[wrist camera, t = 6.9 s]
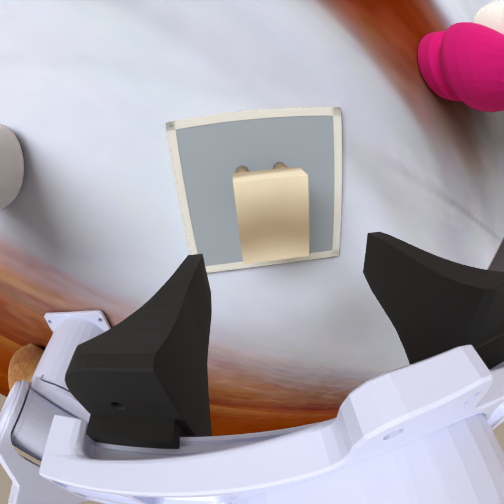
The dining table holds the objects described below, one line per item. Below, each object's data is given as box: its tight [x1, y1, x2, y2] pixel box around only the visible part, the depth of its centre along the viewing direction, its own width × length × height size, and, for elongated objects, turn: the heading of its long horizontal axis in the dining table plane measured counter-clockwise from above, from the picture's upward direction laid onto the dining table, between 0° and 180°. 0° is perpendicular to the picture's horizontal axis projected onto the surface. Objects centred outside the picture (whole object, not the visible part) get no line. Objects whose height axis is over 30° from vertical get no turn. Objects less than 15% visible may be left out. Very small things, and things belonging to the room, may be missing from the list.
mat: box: [166, 107, 342, 273], centre depth 20 cm, size 12×12×1 cm
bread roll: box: [8, 344, 44, 391], centre depth 26 cm, size 10×15×8 cm, turn 160°
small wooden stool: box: [232, 162, 309, 264], centre depth 18 cm, size 5×4×5 cm
